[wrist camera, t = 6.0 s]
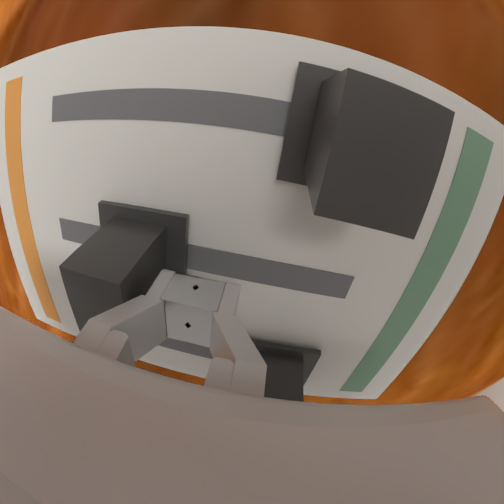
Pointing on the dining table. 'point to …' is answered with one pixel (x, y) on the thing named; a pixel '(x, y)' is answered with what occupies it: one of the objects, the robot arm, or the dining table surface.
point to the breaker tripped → (123, 257)
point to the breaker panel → (236, 192)
